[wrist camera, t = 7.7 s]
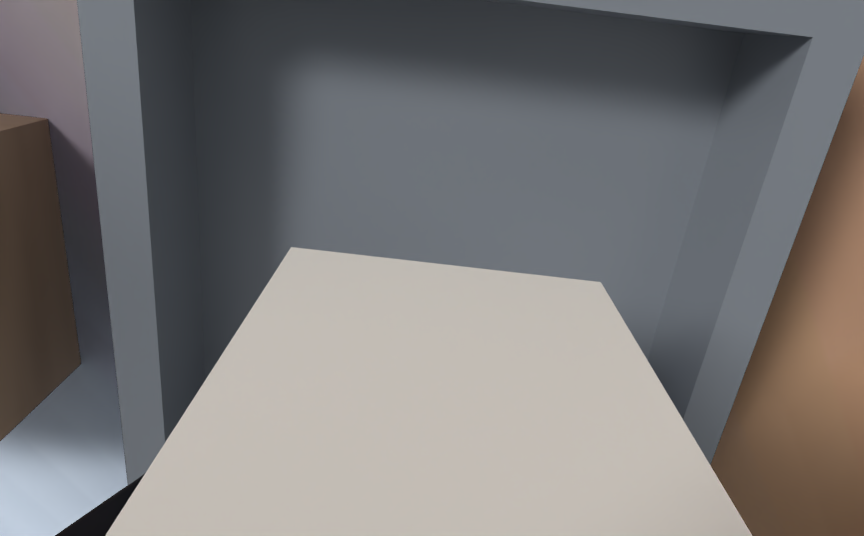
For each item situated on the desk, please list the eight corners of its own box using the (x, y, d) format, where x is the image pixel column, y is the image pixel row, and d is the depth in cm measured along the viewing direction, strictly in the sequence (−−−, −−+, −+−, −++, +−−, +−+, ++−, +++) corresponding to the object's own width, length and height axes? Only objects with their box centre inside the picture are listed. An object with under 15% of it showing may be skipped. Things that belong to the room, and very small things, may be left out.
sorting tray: (181, 436, 18) (131, 517, 15) (151, -94, 13) (63, -126, 10) (634, 482, 19) (670, 570, 16) (790, -11, 13) (891, -18, 10)
